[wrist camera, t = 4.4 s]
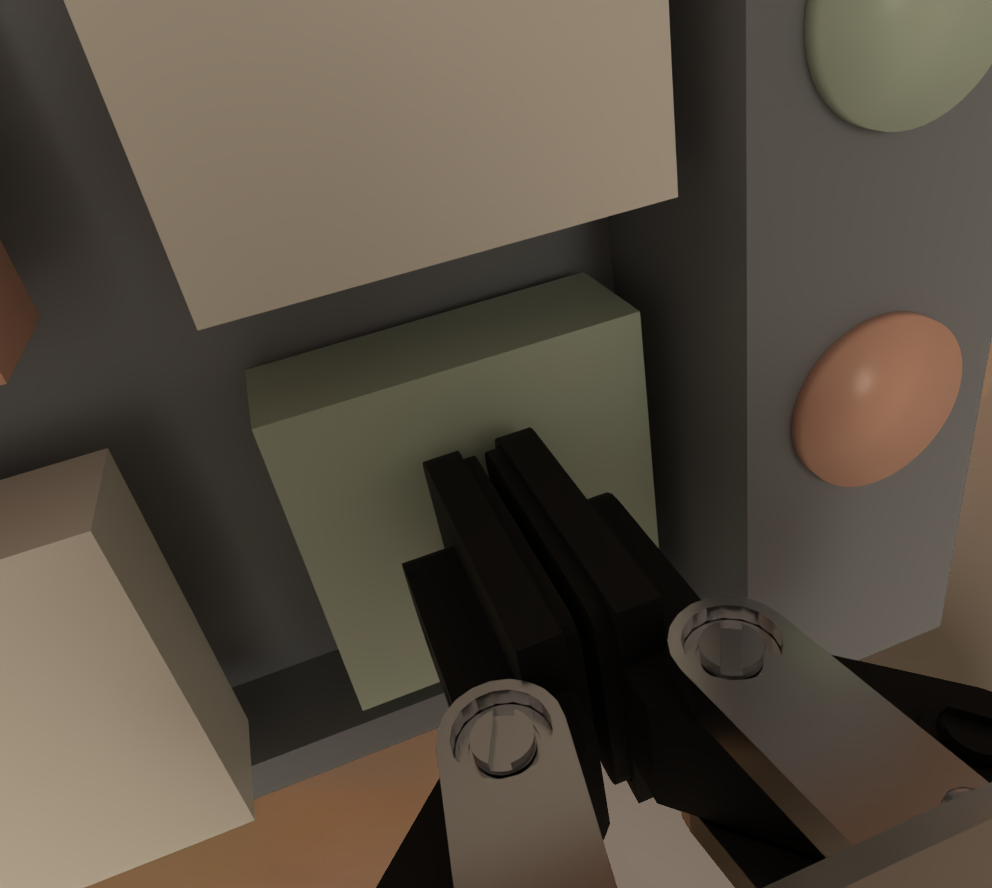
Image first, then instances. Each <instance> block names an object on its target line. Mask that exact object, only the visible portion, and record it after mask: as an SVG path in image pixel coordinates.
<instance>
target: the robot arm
mask: <svg viewBox="0 0 992 888" xmlns="http://www.w3.org/2000/svg"><path fill="white" fill-rule="evenodd" d="M485 461H486V465H487V470H488V475H489V477H488V475H487V474H486V472H485V470H484V469H483V467H482V465H481V464H480V462H479V460H478V459H477V457H476V456H471V457H468V458H465V459H463V457H462V455H461V454H460V452H459V451H455V452H452V453H449V454H446V455H443V456H439V457H436V458H433V459H430V460H427V461H424V462H423V469H424V473H425V477H426V481H427V485H428V488H429V492H430V496H431V500H432V503H433V507H434V511H435V515H436V518H437V522H438V526H439V530H440V533H441V537H442V541H443V545H444V548H445V549H442V550H439V551H436V552H433V553H430V554H427V555H425V556H422V557H419V558H416V559H413V560H410V561H407V562H404V563H402V567H403V571H404V574H405V578H406V581H407V584H408V587H409V591H410V594H411V597H412V600H413V603H414V607H415V610H416V613H417V616H418V619H419V622H420V625H421V628H422V631H423V634H424V637H425V640H426V643H427V646H428V649H429V652H430V655H431V658H432V661H433V663H434V666H435V669H436V672H437V675H438V678H439V680H440V683H441V686H442V689H443V692H444V695H445V697H446V700H447V703H448V706H449V709H448V710H447V711H446V712H445V714H444V716H443V718H442V720H441V723H440V725H439V728H438V730H437V742H436V752H437V760H438V767H439V775H440V778H439V780H438V781H437V783H436V785H435V787H434V788H433V790H432V792H431V794H430V795H429V797H428V799H427V800H426V802H425V804H424V806H423V807H422V809H421V811H420V813H419V814H418V816H417V818H416V820H415V821H414V823H413V825H412V826H411V828H410V830H409V832H408V833H407V835H406V837H405V839H404V840H403V842H402V844H401V845H400V847H399V849H398V851H397V852H396V854H395V856H394V858H393V859H392V861H391V863H390V865H389V866H388V868H387V870H386V871H385V873H384V875H383V877H382V878H381V880H380V882H379V884H378V885H377V887H376V888H617V885H616V882H615V878H614V875H613V872H612V869H611V865H610V862H609V859H608V855H607V852H606V849H605V846H604V842H603V840H604V838H605V835H606V833H607V830H608V827H609V825H610V821H609V814H608V808H607V801H606V795H605V789H604V782H603V776H602V771H601V770H602V769H601V763H602V765H603V767H604V769H605V770H606V772H607V774H608V776H609V778H610V780H611V781H612V782H613V784H615V785H616V784H618V783H620V782H623V781H627V782H628V784H629V786H630V788H631V790H632V792H633V794H634V795H635V797H636V799H637V801H638V803H641V802H643V801H646V800H648V799H650V798H652V797H654V799H655V800H656V802H657V803H658V804H661V805H664V806H667V807H670V808H674V809H676V810H679V811H681V814H682V818H683V820H684V821H685V823H686V825H687V826H688V828H689V830H690V832H691V833H692V834H693V836H694V837H695V838H696V839H697V840H698V842H699V843H700V844H701V846H702V847H703V848H704V849H705V851H706V852H707V853H708V855H709V856H710V857H711V858H712V860H713V861H714V862H715V863H716V865H717V866H718V867H719V868H720V870H721V871H722V872H723V873H724V874H725V876H726V877H727V878H728V880H729V881H730V882H731V883H732V885H733V886H734V887H735V888H992V692H991V691H988V690H985V689H982V688H978V687H973V686H970V685H965V684H961V683H956V682H951V681H947V680H943V679H938V678H933V677H929V676H925V675H920V674H916V673H911V672H907V671H902V670H898V669H893V668H888V667H884V666H879V665H875V664H870V663H866V662H862V661H857V660H853V659H848V658H844V657H839V656H835V655H831V654H829V653H828V652H827V651H826V650H824V649H823V648H822V647H821V646H819V645H818V644H817V643H816V642H814V641H813V640H812V639H811V638H809V637H808V636H807V635H806V634H805V633H803V632H802V631H801V630H800V629H798V628H797V627H796V626H795V625H793V624H792V623H791V622H790V621H788V620H787V619H786V618H785V617H783V616H782V615H781V614H780V613H778V612H777V611H775V610H773V609H772V608H770V607H768V606H767V605H765V604H763V603H760V602H757V601H754V600H751V599H748V598H744V597H734V596H720V597H712V598H706V599H704V600H701V599H700V598H699V596H698V595H697V594H696V593H695V592H694V590H693V589H692V588H691V587H690V586H689V584H688V583H687V582H686V581H685V580H684V578H683V577H682V576H681V575H680V574H679V572H678V571H677V570H676V569H675V568H674V566H673V565H672V564H671V563H670V562H669V560H668V559H667V558H666V557H665V556H664V554H663V553H662V552H661V551H660V549H659V548H658V547H657V546H656V545H655V543H654V542H653V541H652V540H651V539H650V537H649V536H648V535H647V534H646V533H645V531H644V530H643V529H642V528H641V527H640V525H639V524H638V523H637V522H636V521H635V519H634V518H633V517H632V516H631V515H630V513H629V512H628V511H627V510H626V509H625V507H624V506H623V505H622V504H621V502H620V501H619V500H618V499H617V498H616V497H615V496H614V495H613V494H612V493H608V492H606V493H603V494H600V495H597V496H595V497H592V498H589V499H587V498H586V497H585V496H584V494H583V493H582V492H581V491H580V489H579V488H578V487H577V485H576V484H575V483H574V481H573V480H572V479H571V478H570V476H569V475H568V474H567V472H566V471H565V470H564V468H563V467H562V466H561V465H560V463H559V462H558V461H557V459H556V458H555V457H554V455H553V454H552V453H551V452H550V450H549V449H548V448H547V446H546V445H545V444H544V442H543V441H542V440H541V439H540V437H539V436H538V435H537V433H536V432H535V431H534V430H533V429H532V428H530V427H529V428H526V429H523V430H520V431H516V432H513V433H510V434H507V435H504V436H501V437H498V438H496V439H495V449H492V450H489V451H486V452H485ZM600 761H601V763H600Z"/></svg>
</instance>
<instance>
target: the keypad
mask: <svg viewBox="0 0 992 888" xmlns="http://www.w3.org/2000/svg"><path fill="white" fill-rule="evenodd" d="M669 20H670V41H671V61H672V82H673V102H674V123H675V143H676V164H677V184H678V197H676V198H673V199H669V200H666V201H662V202H658V203H655V204H651V205H648V206H644V207H640V208H637V209H633V210H630V211H626V212H622V213H619V214H615V215H612V216H608V217H605V218H601V219H597V220H594V221H590V222H587V223H583V224H579V225H576V226H572V227H569V228H565V229H561V230H558V231H554V232H551V233H547V234H543V235H540V236H536V237H533V238H529V239H525V240H522V241H518V242H515V243H511V244H507V245H504V246H500V247H497V248H493V249H489V250H486V251H482V252H479V253H475V254H471V255H468V256H464V257H461V258H457V259H453V260H450V261H446V262H443V263H439V264H435V265H432V266H428V267H425V268H421V269H418V270H414V271H410V272H407V273H403V274H400V275H396V276H392V277H389V278H385V279H382V280H378V281H374V282H371V283H367V284H364V285H360V286H356V287H353V288H349V289H346V290H342V291H338V292H335V293H331V294H328V295H324V296H320V297H317V298H313V299H310V300H306V301H302V302H299V303H295V304H292V305H288V306H284V307H281V308H277V309H274V310H270V311H266V312H263V313H259V314H256V315H252V316H248V317H245V318H241V319H238V320H234V321H231V322H227V323H223V324H220V325H216V326H213V327H209V328H205V329H202V330H197V328H196V325H195V323H194V320H193V318H192V316H191V313H190V311H189V308H188V306H187V303H186V301H185V298H184V296H183V293H182V291H181V288H180V286H179V284H178V281H177V279H176V276H175V274H174V271H173V269H172V266H171V264H170V261H169V259H168V256H167V254H166V251H165V249H164V247H163V244H162V242H161V239H160V237H159V234H158V232H157V229H156V227H155V224H154V222H153V219H152V217H151V215H150V212H149V210H148V207H147V205H146V202H145V200H144V197H143V195H142V192H141V190H140V187H139V185H138V183H137V180H136V178H135V175H134V173H133V170H132V168H131V165H130V163H129V160H128V158H127V155H126V153H125V150H124V148H123V146H122V143H121V141H120V138H119V136H118V133H117V131H116V128H115V126H114V123H113V121H112V118H111V116H110V114H109V111H108V109H107V106H106V104H105V101H104V99H103V96H102V94H101V91H100V89H99V86H98V84H97V82H96V79H95V77H94V74H93V72H92V69H91V67H90V64H89V62H88V59H87V57H86V54H85V52H84V49H83V47H82V45H81V42H80V40H79V37H78V35H77V32H76V30H75V27H74V25H73V22H72V20H71V17H70V15H69V13H68V10H67V8H66V5H65V3H64V0H0V240H1V242H2V244H3V246H4V248H5V250H6V252H7V254H8V256H9V258H10V260H11V262H12V264H13V265H14V267H15V269H16V271H17V273H18V275H19V277H20V279H21V281H22V283H23V285H24V287H25V289H26V291H27V293H28V295H29V296H30V298H31V300H32V302H33V304H34V306H35V308H36V310H37V312H38V314H39V316H40V319H39V321H38V323H37V325H36V327H35V329H34V331H33V333H32V335H31V337H30V339H29V341H28V343H27V345H26V347H25V349H24V351H23V353H22V355H21V357H20V359H19V361H18V363H17V365H16V367H15V369H14V371H13V373H12V375H11V377H10V378H9V380H8V382H7V384H4V385H0V480H2V479H5V478H9V477H12V476H16V475H19V474H22V473H26V472H29V471H32V470H36V469H39V468H42V467H46V466H49V465H52V464H56V463H59V462H62V461H66V460H69V459H72V458H76V457H79V456H83V455H86V454H89V453H93V452H96V451H99V450H103V449H106V448H108V449H109V451H110V453H111V455H112V457H113V459H114V461H115V463H116V465H117V467H118V469H119V471H120V473H121V475H122V477H123V478H124V480H125V482H126V484H127V486H128V488H129V490H130V492H131V494H132V496H133V498H134V500H135V502H136V504H137V506H138V508H139V509H140V511H141V513H142V515H143V517H144V519H145V521H146V523H147V525H148V527H149V529H150V531H151V533H152V535H153V537H154V539H155V540H156V542H157V544H158V546H159V548H160V550H161V552H162V554H163V556H164V558H165V560H166V562H167V564H168V566H169V568H170V570H171V571H172V573H173V575H174V577H175V579H176V581H177V583H178V585H179V587H180V589H181V591H182V593H183V595H184V597H185V599H186V600H187V602H188V604H189V606H190V608H191V610H192V612H193V614H194V616H195V618H196V620H197V622H198V624H199V626H200V628H201V630H202V631H203V633H204V635H205V637H206V639H207V641H208V643H209V645H210V647H211V649H212V651H213V653H214V655H215V657H216V659H217V661H218V662H219V664H220V666H221V668H222V670H223V672H224V674H225V676H226V678H227V680H228V682H229V684H230V686H231V688H232V690H233V692H234V693H235V695H236V697H237V699H238V701H239V703H240V705H241V707H242V709H243V711H244V713H245V715H246V717H247V719H248V725H249V740H250V754H251V769H252V784H253V799H256V798H259V797H261V796H264V795H266V794H269V793H271V792H274V791H277V790H279V789H282V788H284V787H287V786H289V785H292V784H295V783H297V782H300V781H302V780H305V779H307V778H310V777H313V776H315V775H318V774H320V773H323V772H325V771H328V770H331V769H333V768H336V767H338V766H341V765H343V764H346V763H349V762H351V761H354V760H356V759H359V758H361V757H364V756H367V755H369V754H372V753H374V752H377V751H379V750H382V749H385V748H387V747H390V746H392V745H395V744H397V743H400V742H403V741H405V740H408V739H410V738H413V737H415V736H418V735H421V734H423V733H426V732H428V731H431V730H433V729H436V728H439V725H440V723H441V720H442V718H443V716H444V714H445V712H446V711H447V710H448V709H449V706H448V703H447V700H446V697H445V695H444V692H443V689H442V686H441V683H440V682H438V683H435V684H433V685H430V686H428V687H425V688H422V689H420V690H417V691H414V692H412V693H409V694H406V695H404V696H401V697H398V698H396V699H393V700H390V701H388V702H385V703H383V704H380V705H377V706H375V707H372V708H369V709H367V710H364V711H363V710H362V708H361V705H360V703H359V700H358V697H357V695H356V692H355V690H354V687H353V685H352V682H351V680H350V677H349V675H348V672H347V670H346V667H345V665H344V662H343V659H342V657H341V654H340V652H339V649H338V647H337V644H336V642H335V639H334V637H333V634H332V632H331V629H330V627H329V624H328V621H327V619H326V616H325V614H324V611H323V609H322V606H321V604H320V601H319V599H318V596H317V594H316V591H315V589H314V586H313V583H312V581H311V578H310V576H309V573H308V571H307V568H306V566H305V563H304V561H303V558H302V556H301V553H300V551H299V548H298V546H297V543H296V540H295V538H294V535H293V533H292V530H291V528H290V525H289V523H288V520H287V518H286V515H285V513H284V510H283V508H282V505H281V502H280V500H279V497H278V495H277V492H276V490H275V487H274V485H273V482H272V480H271V477H270V475H269V472H268V470H267V467H266V464H265V462H264V459H263V457H262V454H261V452H260V449H259V447H258V444H257V442H256V439H255V437H254V434H253V432H252V428H251V420H250V411H249V403H248V395H247V387H246V378H245V370H247V369H251V368H254V367H257V366H261V365H264V364H268V363H271V362H275V361H278V360H282V359H285V358H288V357H292V356H295V355H299V354H302V353H306V352H309V351H313V350H316V349H319V348H323V347H326V346H330V345H333V344H337V343H340V342H344V341H347V340H350V339H354V338H357V337H361V336H364V335H368V334H371V333H375V332H378V331H382V330H385V329H388V328H392V327H395V326H399V325H402V324H406V323H409V322H413V321H416V320H419V319H423V318H426V317H430V316H433V315H437V314H440V313H444V312H447V311H450V310H454V309H457V308H461V307H464V306H468V305H471V304H475V303H478V302H481V301H485V300H488V299H492V298H495V297H499V296H502V295H506V294H509V293H512V292H516V291H519V290H523V289H526V288H530V287H533V286H537V285H540V284H544V283H547V282H550V281H554V280H557V279H561V278H564V277H568V276H571V275H575V274H578V273H581V272H585V273H586V274H587V275H589V276H590V277H592V278H593V279H595V280H596V281H597V282H599V283H600V284H602V285H603V286H604V287H606V288H607V289H609V290H610V291H612V292H613V293H614V294H616V295H617V296H619V297H620V298H622V299H623V300H624V301H626V302H627V303H629V304H630V305H632V306H633V307H634V308H636V309H637V310H639V311H640V319H641V331H642V344H643V356H644V369H645V381H646V393H647V406H648V418H649V431H650V443H651V456H652V468H653V481H654V493H655V506H656V518H657V530H658V543H659V549H660V551H661V552H662V553H663V554H664V556H665V557H666V558H667V559H668V560H669V562H670V563H671V564H672V565H673V566H674V568H675V569H676V570H677V571H678V572H679V574H680V575H681V576H682V577H683V578H684V580H685V581H686V582H687V583H688V584H689V586H690V587H691V588H692V589H693V590H694V592H695V593H696V594H697V595H698V596H699V598H700V599H701V600H704V599H706V598H712V597H720V596H734V597H744V598H748V599H751V600H754V601H757V602H760V603H763V604H765V605H767V606H768V607H770V608H772V609H773V610H775V611H777V612H778V613H780V614H781V615H782V616H783V617H785V618H786V619H787V620H788V621H790V622H791V623H792V624H793V625H795V626H796V627H797V628H798V629H800V630H801V631H802V632H803V633H805V634H806V635H807V636H808V637H809V638H811V639H812V640H813V641H814V642H816V643H817V644H818V645H819V646H821V647H822V648H823V649H824V650H826V651H827V652H828V653H829V654H831V655H835V656H839V657H844V658H848V659H853V660H860V659H862V658H865V657H867V656H869V655H872V654H874V653H876V652H879V651H881V650H884V649H886V648H888V647H891V646H893V645H896V644H898V643H901V642H903V641H906V640H908V639H910V638H913V637H915V636H918V635H920V634H922V633H925V632H927V631H930V630H932V629H934V628H937V627H939V626H940V624H941V618H942V612H943V607H944V601H945V595H946V590H947V585H948V579H949V573H950V568H951V562H952V556H953V551H954V545H955V539H956V534H957V528H958V522H959V517H960V511H961V506H962V500H963V494H964V489H965V483H966V477H967V472H968V466H969V461H970V455H971V449H972V444H973V438H974V432H975V427H976V421H977V415H978V410H979V404H980V398H981V393H982V387H983V382H984V376H985V370H986V365H987V359H988V353H989V348H990V342H991V336H992V0H669Z"/></svg>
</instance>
